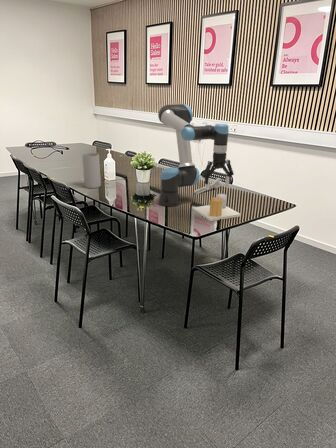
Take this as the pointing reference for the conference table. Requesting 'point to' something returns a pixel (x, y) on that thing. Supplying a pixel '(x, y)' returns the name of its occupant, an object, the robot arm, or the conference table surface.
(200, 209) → the plate
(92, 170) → the cylinder vase
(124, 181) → the conference table surface
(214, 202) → the wire cap
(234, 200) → the conference table surface
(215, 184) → the wrench
